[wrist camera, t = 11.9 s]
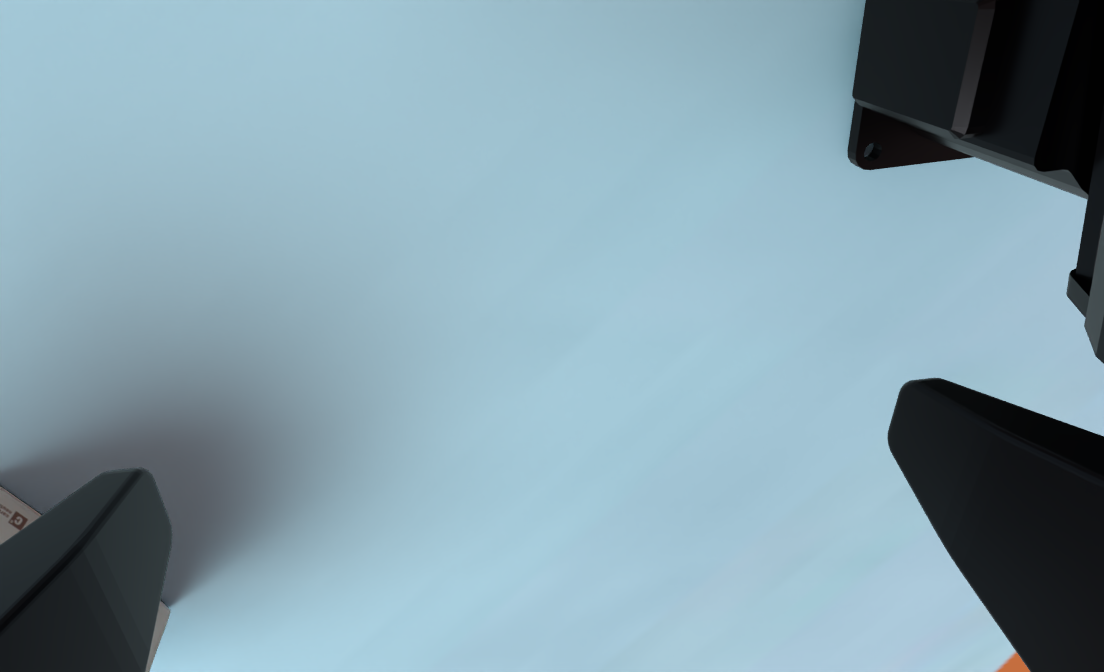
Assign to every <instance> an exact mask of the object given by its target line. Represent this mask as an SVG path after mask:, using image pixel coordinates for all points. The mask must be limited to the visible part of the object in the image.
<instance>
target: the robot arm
mask: <svg viewBox="0 0 1104 672" xmlns="http://www.w3.org/2000/svg"><path fill="white" fill-rule="evenodd" d="M852 96H853V98H854V99H855V104H854V111H853V118H852V124H851V131H850V138H849V145H848V158H849V160H850V162H851V163H853V164H854V165H856V166H858V167H860V168H862V169H865V170H874V169H882V168H890V167H898V166H906V165H914V164H922V163H930V162H939V161H947V160H955V159H963V158H971V157H976V158H978V159H981V160H984V161H986V162H989V163H992V164H994V165H997V166H1000V167H1002V168H1005V169H1008V170H1010V171H1013V172H1016V173H1018V174H1021V175H1024V176H1026V177H1029V178H1032V179H1034V180H1037V181H1040V182H1042V183H1045V184H1048V185H1050V186H1053V187H1056V188H1058V189H1061V190H1064V191H1066V192H1069V193H1072V194H1074V195H1077V196H1080V197H1082V198H1085V199H1088V201H1087V207H1086V213H1085V219H1084V225H1083V231H1082V237H1081V243H1080V249H1079V255H1078V261H1077V267H1076V269H1074V270H1072V271H1071V272H1070V274H1069V281H1068V287H1067V293H1066V294H1067V297H1068V298H1069V299H1070V300H1071V301H1072V302H1073V304H1074V305H1075V306H1076V307H1077V308H1078V310H1079V311H1080V312H1081V313H1082V314H1083V315H1084V317H1085V318H1086V319H1085V324H1084V327H1085V329H1086V332H1087V335H1088V337H1089V340H1090V342H1091V345H1092V348H1093V350H1094V353H1095V355H1096V357H1097V358H1098V359H1099V360H1100V361H1101V362H1102V363H1104V0H866V3H865V10H864V17H863V24H862V31H861V38H860V45H859V52H858V59H857V65H856V72H855V79H854V86H853V93H852ZM871 143H873V150H872V152H871V153H870V154H869V155H868V156H866V157H864V151H865V149H866V147H867V146H868V145H869V144H871ZM888 444H889V448H890V451H891V453H892V455H893V456H894V458H895V460H896V462H897V464H898V465H899V467H900V469H901V471H902V472H903V474H904V476H905V478H906V480H907V481H908V483H909V485H910V487H911V488H912V490H913V492H914V494H915V496H916V497H917V499H918V501H919V503H920V505H921V506H922V508H923V510H924V512H925V513H926V515H927V517H928V519H929V521H930V522H931V524H932V526H933V528H934V529H935V531H936V533H937V535H938V536H939V538H940V540H941V542H942V543H943V545H944V547H945V548H946V550H947V552H948V553H949V555H950V556H951V558H952V559H953V561H954V562H955V564H956V565H957V567H958V568H959V570H960V571H961V573H962V574H963V576H964V577H965V578H966V580H967V581H968V583H969V584H970V586H971V587H972V588H973V590H974V591H975V593H976V594H977V596H978V597H979V599H980V600H981V601H982V603H983V604H984V606H985V607H986V609H987V610H988V611H989V613H990V614H991V616H992V617H993V619H994V620H995V622H996V623H997V624H998V626H999V627H1000V629H1001V630H1002V632H1003V633H1004V634H1005V636H1006V637H1007V639H1008V640H1009V642H1010V643H1011V644H1012V646H1013V647H1014V649H1015V650H1016V652H1017V653H1018V654H1019V656H1020V657H1021V659H1022V660H1023V662H1024V663H1025V665H1026V666H1027V667H1028V669H1029V670H1030V672H1104V436H1101V435H1098V434H1095V433H1092V432H1090V431H1087V430H1084V429H1081V428H1078V427H1076V426H1073V425H1070V424H1067V423H1064V422H1062V421H1059V420H1056V419H1053V418H1050V417H1048V416H1045V415H1042V414H1039V413H1036V412H1034V411H1031V410H1028V409H1025V408H1022V407H1020V406H1017V405H1014V404H1011V403H1008V402H1006V401H1003V400H1000V399H997V398H995V397H992V396H989V395H986V394H983V393H981V392H978V391H975V390H972V389H969V388H967V387H964V386H961V385H958V384H955V383H953V382H950V381H947V380H944V379H941V378H928V379H919V380H911V381H909V382H907V383H905V384H904V385H903V386H902V388H901V389H900V392H899V395H898V399H897V402H896V406H895V409H894V412H893V416H892V419H891V423H890V426H889V430H888ZM171 544H172V527H171V523H170V520H169V517H168V514H167V512H166V509H165V507H164V504H163V501H162V499H161V496H160V493H159V491H158V488H157V486H156V483H155V480H154V478H153V476H152V475H151V473H150V472H149V471H148V470H146V469H144V468H131V469H122V470H113V471H107V472H104V473H101V474H100V475H98V476H97V477H95V478H94V479H93V480H91V481H90V482H88V483H87V484H86V485H84V486H83V487H81V488H80V489H78V490H77V491H76V492H74V493H73V494H71V495H70V496H69V497H67V498H66V499H64V500H63V501H61V502H60V503H59V504H57V505H56V506H54V507H53V508H52V509H50V510H49V511H47V512H46V513H45V514H43V515H42V516H40V517H39V518H37V519H36V520H35V521H33V522H32V523H30V524H29V525H28V526H26V527H25V528H23V529H22V530H20V531H19V532H18V533H16V534H15V535H13V536H12V537H11V538H9V539H8V540H6V541H5V542H3V543H2V544H1V545H0V672H146V667H147V663H148V659H149V654H150V649H151V644H152V639H153V634H154V629H155V625H156V620H157V615H158V610H159V605H160V600H161V595H162V590H163V585H164V580H165V575H166V570H167V565H168V560H169V555H170V550H171Z"/></svg>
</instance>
